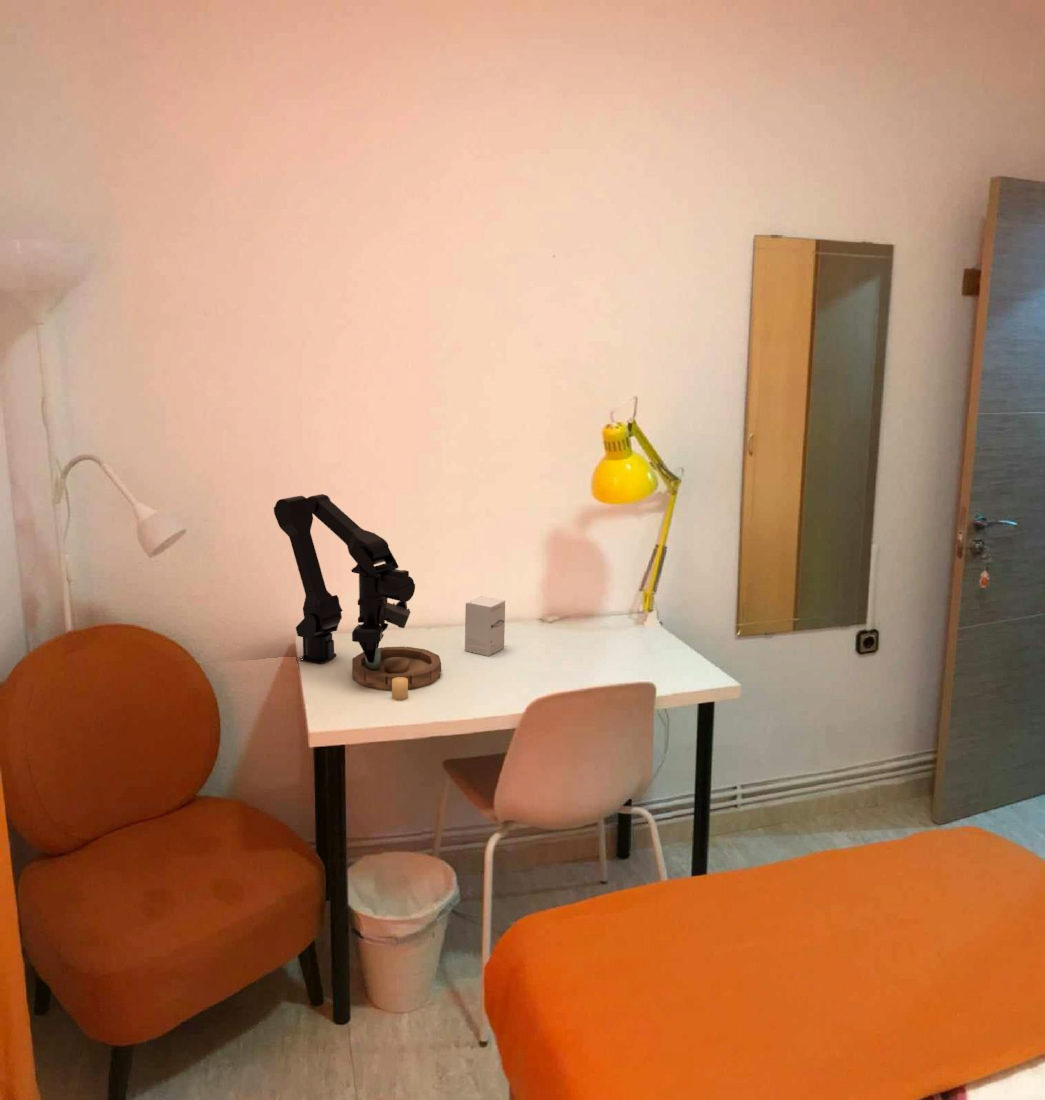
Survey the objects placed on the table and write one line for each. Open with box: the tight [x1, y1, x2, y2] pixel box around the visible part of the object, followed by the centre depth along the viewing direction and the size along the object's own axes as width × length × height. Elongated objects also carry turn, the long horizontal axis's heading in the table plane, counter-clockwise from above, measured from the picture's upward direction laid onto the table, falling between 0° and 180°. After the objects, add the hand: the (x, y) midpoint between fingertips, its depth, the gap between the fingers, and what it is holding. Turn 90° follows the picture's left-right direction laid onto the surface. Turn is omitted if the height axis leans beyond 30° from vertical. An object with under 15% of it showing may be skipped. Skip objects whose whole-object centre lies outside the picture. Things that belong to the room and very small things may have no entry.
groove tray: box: [351, 646, 442, 691], centre depth 228 cm, size 20×20×3 cm
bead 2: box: [391, 677, 409, 701], centre depth 215 cm, size 3×3×4 cm
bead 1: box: [365, 647, 381, 669], centre depth 228 cm, size 3×3×4 cm
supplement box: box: [464, 596, 506, 657], centre depth 245 cm, size 7×7×13 cm
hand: (372, 659), depth 228 cm, fingers open, 4 cm apart
